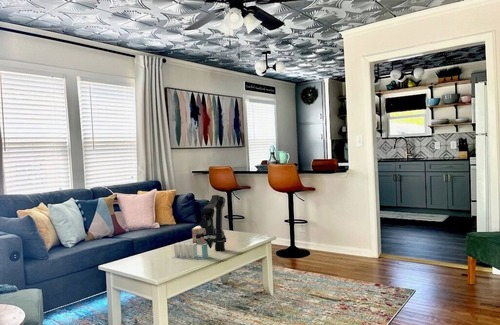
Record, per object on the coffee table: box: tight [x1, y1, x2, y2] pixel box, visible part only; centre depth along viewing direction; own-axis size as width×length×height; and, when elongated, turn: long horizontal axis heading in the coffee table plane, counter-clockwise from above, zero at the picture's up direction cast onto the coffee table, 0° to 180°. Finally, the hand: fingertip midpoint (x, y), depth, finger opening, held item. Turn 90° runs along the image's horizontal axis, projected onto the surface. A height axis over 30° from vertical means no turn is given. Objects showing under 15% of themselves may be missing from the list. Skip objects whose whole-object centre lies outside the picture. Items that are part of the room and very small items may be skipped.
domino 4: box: [191, 243, 198, 258], centre depth 265 cm, size 2×5×9 cm, turn 159°
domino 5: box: [201, 243, 209, 260], centre depth 262 cm, size 2×5×9 cm, turn 159°
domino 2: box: [180, 242, 186, 257], centre depth 269 cm, size 2×5×9 cm, turn 158°
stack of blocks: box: [191, 225, 206, 245], centre depth 317 cm, size 21×6×12 cm, turn 169°
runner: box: [171, 254, 211, 261], centre depth 266 cm, size 26×10×1 cm, turn 68°
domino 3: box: [185, 242, 192, 258], centre depth 267 cm, size 2×5×9 cm, turn 159°
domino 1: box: [173, 242, 181, 257], centre depth 270 cm, size 2×5×9 cm, turn 158°
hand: (210, 248), depth 260 cm, fingers closed
